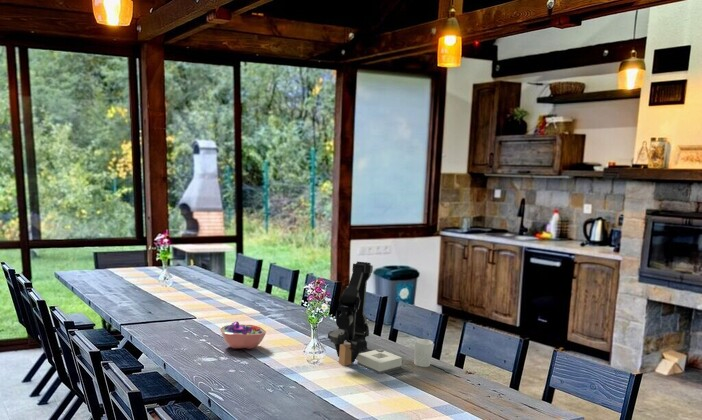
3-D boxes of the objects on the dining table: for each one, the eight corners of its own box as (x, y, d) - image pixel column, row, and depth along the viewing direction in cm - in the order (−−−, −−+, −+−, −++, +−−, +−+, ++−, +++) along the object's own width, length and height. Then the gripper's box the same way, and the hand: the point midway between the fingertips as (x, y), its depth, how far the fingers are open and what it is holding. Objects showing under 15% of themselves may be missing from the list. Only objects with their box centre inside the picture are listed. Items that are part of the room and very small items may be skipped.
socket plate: (357, 364, 228) (358, 352, 228) (379, 359, 237) (379, 347, 237) (379, 374, 219) (380, 361, 218) (401, 368, 227) (402, 356, 227)
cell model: (256, 356, 229) (258, 330, 229) (212, 350, 233) (213, 324, 233) (270, 345, 246) (271, 320, 245) (228, 339, 250) (230, 315, 249)
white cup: (417, 367, 229) (418, 344, 229) (410, 361, 237) (411, 338, 236) (434, 367, 231) (436, 344, 231) (426, 361, 239) (428, 338, 238)
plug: (338, 363, 228) (339, 344, 228) (346, 361, 231) (347, 342, 231) (344, 365, 226) (345, 346, 225) (352, 363, 229) (353, 345, 228)
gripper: (319, 320, 229) (316, 356, 230) (349, 331, 215) (346, 370, 216) (339, 316, 236) (336, 352, 237) (369, 327, 223) (366, 365, 224)
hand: (345, 359), depth 228 cm, fingers open, 8 cm apart
